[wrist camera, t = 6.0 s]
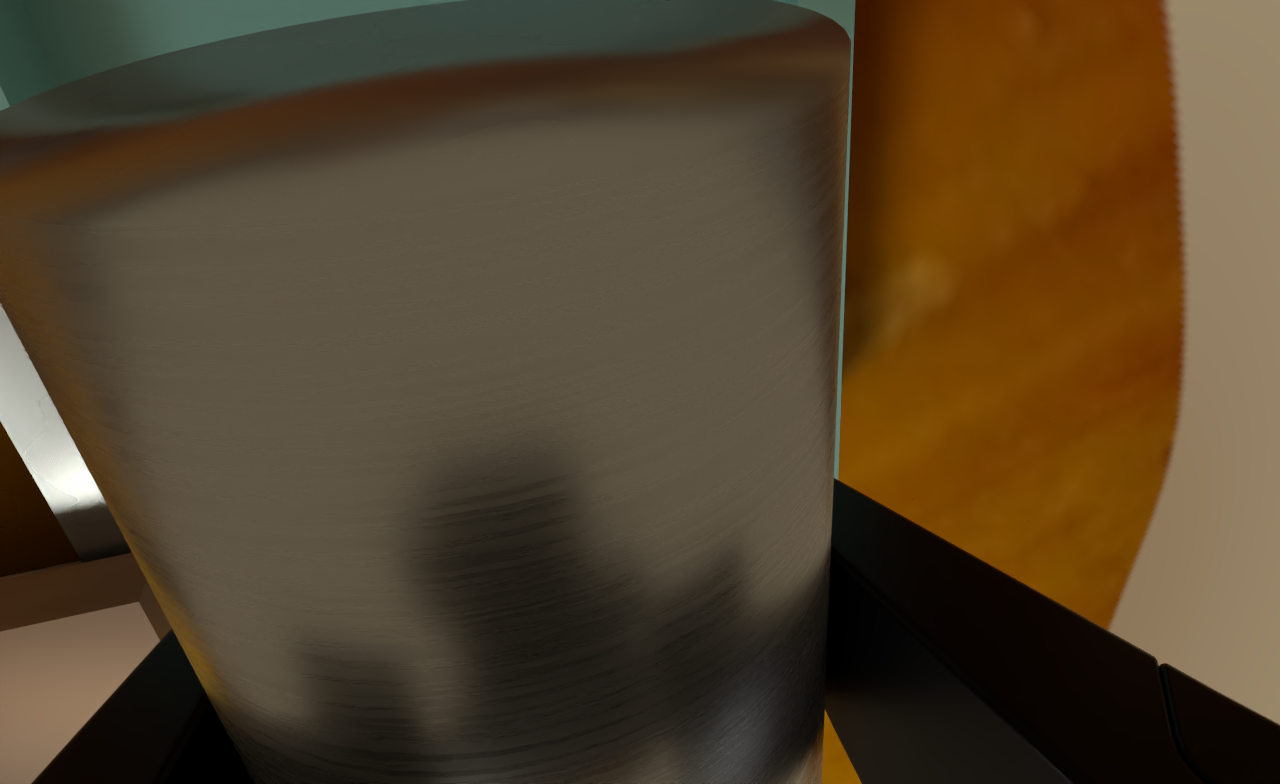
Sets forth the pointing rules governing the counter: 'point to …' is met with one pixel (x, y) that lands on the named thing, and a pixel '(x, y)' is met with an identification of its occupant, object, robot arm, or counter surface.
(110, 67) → the tray
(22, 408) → the track
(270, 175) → the roller
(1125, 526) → the counter surface
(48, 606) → the board
